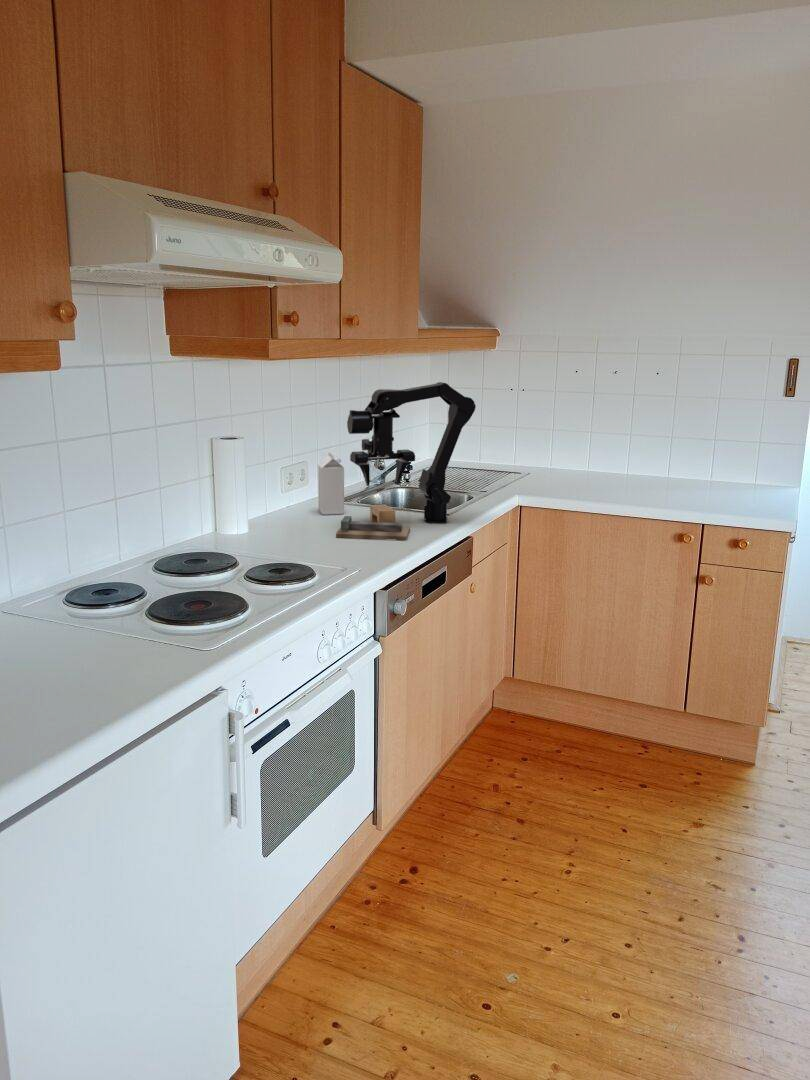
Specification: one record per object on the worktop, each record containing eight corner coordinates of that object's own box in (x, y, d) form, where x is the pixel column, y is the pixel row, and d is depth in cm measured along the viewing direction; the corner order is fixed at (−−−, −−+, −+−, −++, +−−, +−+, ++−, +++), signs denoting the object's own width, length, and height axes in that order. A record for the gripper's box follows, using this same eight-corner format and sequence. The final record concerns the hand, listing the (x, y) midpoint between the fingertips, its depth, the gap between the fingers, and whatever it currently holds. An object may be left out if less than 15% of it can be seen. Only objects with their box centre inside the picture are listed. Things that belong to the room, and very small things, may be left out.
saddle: (385, 520, 259) (385, 504, 258) (395, 526, 251) (395, 510, 250) (370, 521, 257) (370, 505, 256) (379, 527, 249) (379, 511, 248)
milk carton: (322, 515, 264) (321, 455, 259) (318, 510, 271) (317, 452, 266) (344, 514, 266) (344, 454, 261) (340, 509, 272) (339, 451, 268)
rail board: (410, 530, 247) (410, 516, 246) (406, 540, 235) (406, 526, 234) (342, 527, 248) (342, 514, 247) (336, 537, 237) (335, 523, 236)
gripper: (403, 428, 258) (402, 478, 262) (344, 430, 251) (344, 481, 255) (416, 433, 248) (415, 485, 251) (355, 435, 241) (355, 488, 245)
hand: (382, 485), depth 251 cm, fingers open, 9 cm apart
